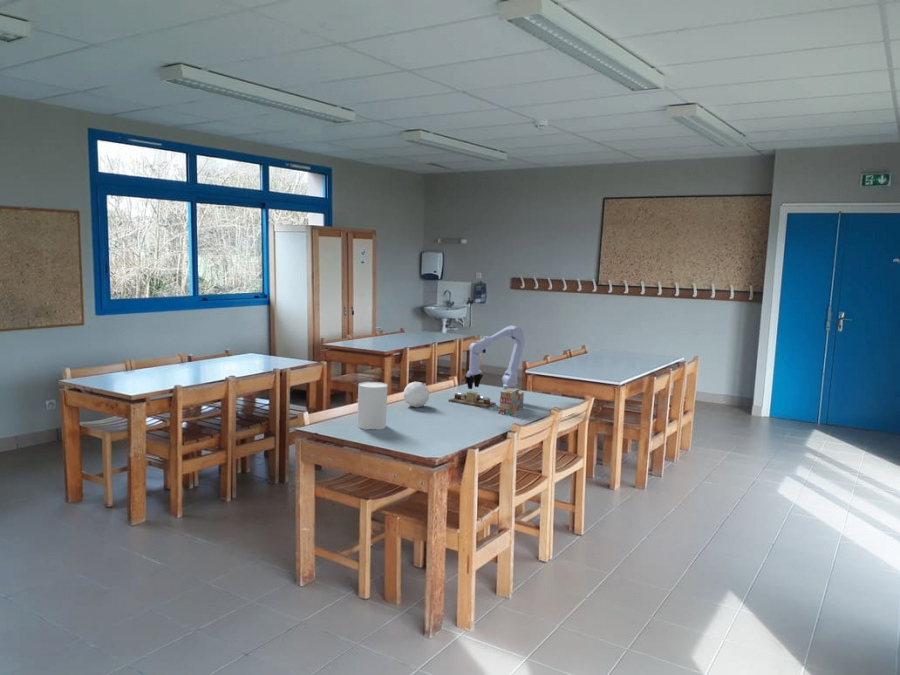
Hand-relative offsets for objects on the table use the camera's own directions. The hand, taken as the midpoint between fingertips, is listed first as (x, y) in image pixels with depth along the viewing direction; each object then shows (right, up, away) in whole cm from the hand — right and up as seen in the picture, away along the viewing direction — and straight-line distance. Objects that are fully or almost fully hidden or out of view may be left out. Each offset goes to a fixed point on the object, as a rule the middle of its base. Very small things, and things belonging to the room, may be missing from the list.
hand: (473, 387), depth 379 cm
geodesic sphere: (-32, -9, -16) cm, 37 cm away
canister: (-50, -14, -62) cm, 81 cm away
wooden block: (-1, -8, 0) cm, 7 cm away
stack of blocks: (+20, -12, -14) cm, 27 cm away
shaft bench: (-1, -9, 0) cm, 8 cm away
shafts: (-1, -7, 0) cm, 7 cm away
